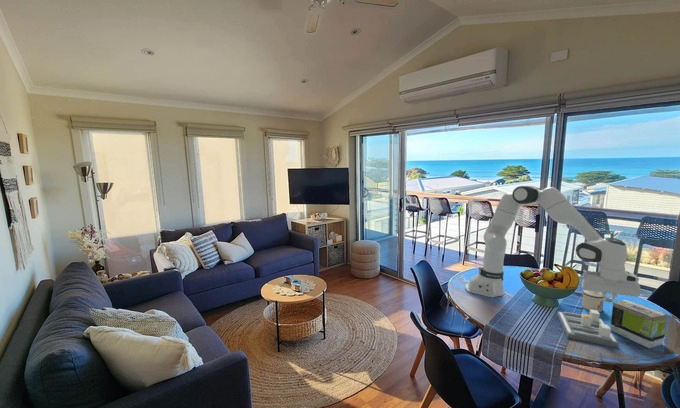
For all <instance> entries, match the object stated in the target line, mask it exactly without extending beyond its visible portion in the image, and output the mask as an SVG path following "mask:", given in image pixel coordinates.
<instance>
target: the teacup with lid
mask: <svg viewBox="0 0 680 408" xmlns="http://www.w3.org/2000/svg"><path fill="white" fill-rule="evenodd" d="M581 301H582V302H581V307H582V308H583V309H584V310H586V311H589V312H590V309H591V310H597V311H598V312H599V313H602V311H603V308H604V302H605V301H604V297H603V295H602V293H601V292H595V291H588V290H584V289H583V290H582V300H581Z"/></svg>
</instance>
